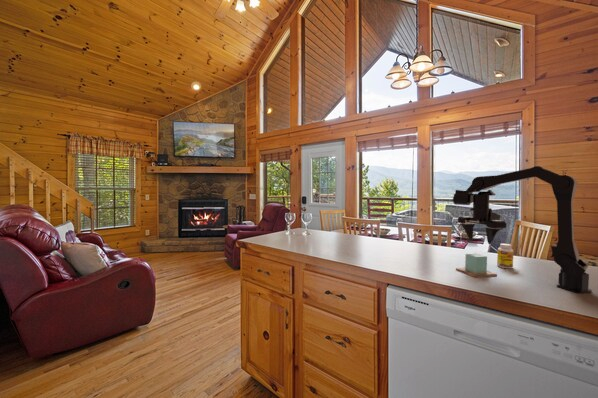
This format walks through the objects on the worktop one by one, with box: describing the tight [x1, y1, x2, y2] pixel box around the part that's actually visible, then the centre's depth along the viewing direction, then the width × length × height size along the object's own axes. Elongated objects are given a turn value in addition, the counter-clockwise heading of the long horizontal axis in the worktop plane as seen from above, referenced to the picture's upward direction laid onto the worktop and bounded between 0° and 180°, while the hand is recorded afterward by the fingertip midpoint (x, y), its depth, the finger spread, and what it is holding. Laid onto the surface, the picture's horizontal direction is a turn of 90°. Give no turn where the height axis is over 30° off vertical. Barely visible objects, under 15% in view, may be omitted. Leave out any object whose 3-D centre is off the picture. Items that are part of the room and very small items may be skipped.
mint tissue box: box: [464, 252, 488, 273], centre depth 109 cm, size 5×5×7 cm
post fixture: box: [455, 266, 498, 278], centre depth 109 cm, size 10×10×6 cm
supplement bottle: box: [496, 243, 515, 269], centre depth 117 cm, size 6×6×10 cm
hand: (479, 241), depth 114 cm, fingers open, 9 cm apart
